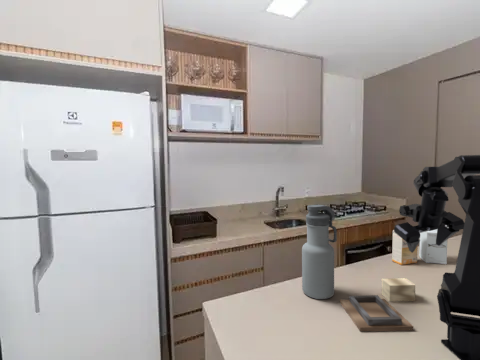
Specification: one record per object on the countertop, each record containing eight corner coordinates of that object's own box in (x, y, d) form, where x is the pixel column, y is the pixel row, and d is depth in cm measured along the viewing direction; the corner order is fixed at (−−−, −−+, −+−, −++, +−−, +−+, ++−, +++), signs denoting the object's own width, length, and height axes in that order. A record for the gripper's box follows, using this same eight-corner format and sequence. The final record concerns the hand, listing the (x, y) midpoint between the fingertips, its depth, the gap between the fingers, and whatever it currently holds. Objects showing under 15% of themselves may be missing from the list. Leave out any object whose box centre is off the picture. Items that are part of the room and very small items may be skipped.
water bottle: (321, 282, 90) (320, 202, 88) (342, 295, 81) (342, 206, 79) (296, 288, 86) (295, 204, 84) (315, 303, 77) (315, 209, 75)
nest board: (413, 330, 64) (413, 320, 63) (360, 331, 64) (360, 321, 64) (384, 302, 77) (384, 293, 76) (339, 302, 77) (339, 294, 76)
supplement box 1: (401, 265, 102) (402, 232, 102) (391, 261, 107) (392, 229, 106) (418, 263, 105) (418, 231, 104) (407, 258, 109) (408, 228, 108)
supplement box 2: (425, 263, 104) (426, 232, 103) (418, 256, 111) (419, 227, 111) (447, 264, 102) (448, 233, 101) (439, 258, 109) (439, 228, 108)
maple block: (405, 293, 81) (405, 278, 81) (415, 301, 77) (415, 285, 76) (381, 294, 81) (381, 278, 81) (389, 301, 77) (389, 285, 76)
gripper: (438, 187, 84) (430, 227, 90) (384, 200, 82) (380, 239, 89) (471, 204, 74) (460, 247, 80) (410, 219, 72) (404, 261, 79)
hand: (424, 248), depth 82 cm, fingers open, 9 cm apart
